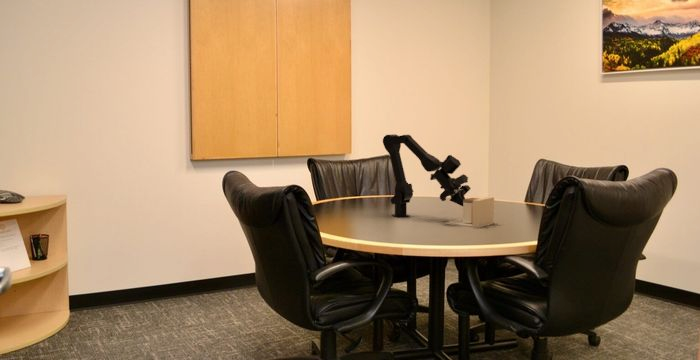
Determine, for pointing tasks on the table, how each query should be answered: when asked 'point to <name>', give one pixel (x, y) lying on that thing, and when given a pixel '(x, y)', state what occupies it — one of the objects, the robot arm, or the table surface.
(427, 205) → the table surface
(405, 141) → the robot arm
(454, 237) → the table surface
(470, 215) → the brown topped beige block
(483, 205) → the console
